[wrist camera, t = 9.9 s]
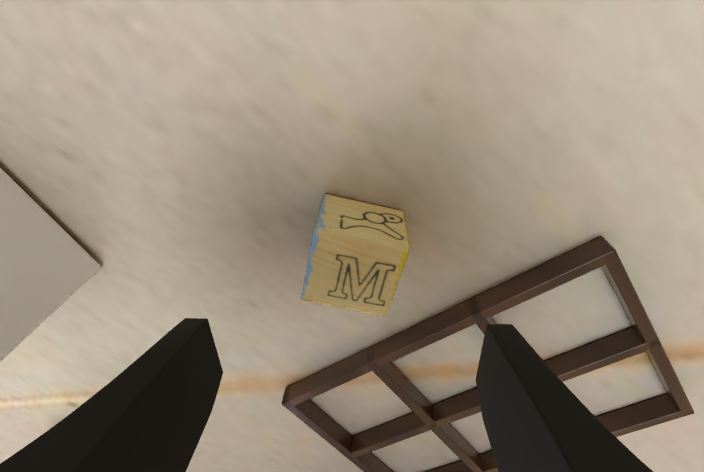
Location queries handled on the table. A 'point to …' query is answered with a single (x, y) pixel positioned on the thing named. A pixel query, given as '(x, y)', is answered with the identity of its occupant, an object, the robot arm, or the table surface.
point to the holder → (438, 417)
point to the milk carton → (33, 265)
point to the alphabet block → (355, 256)
